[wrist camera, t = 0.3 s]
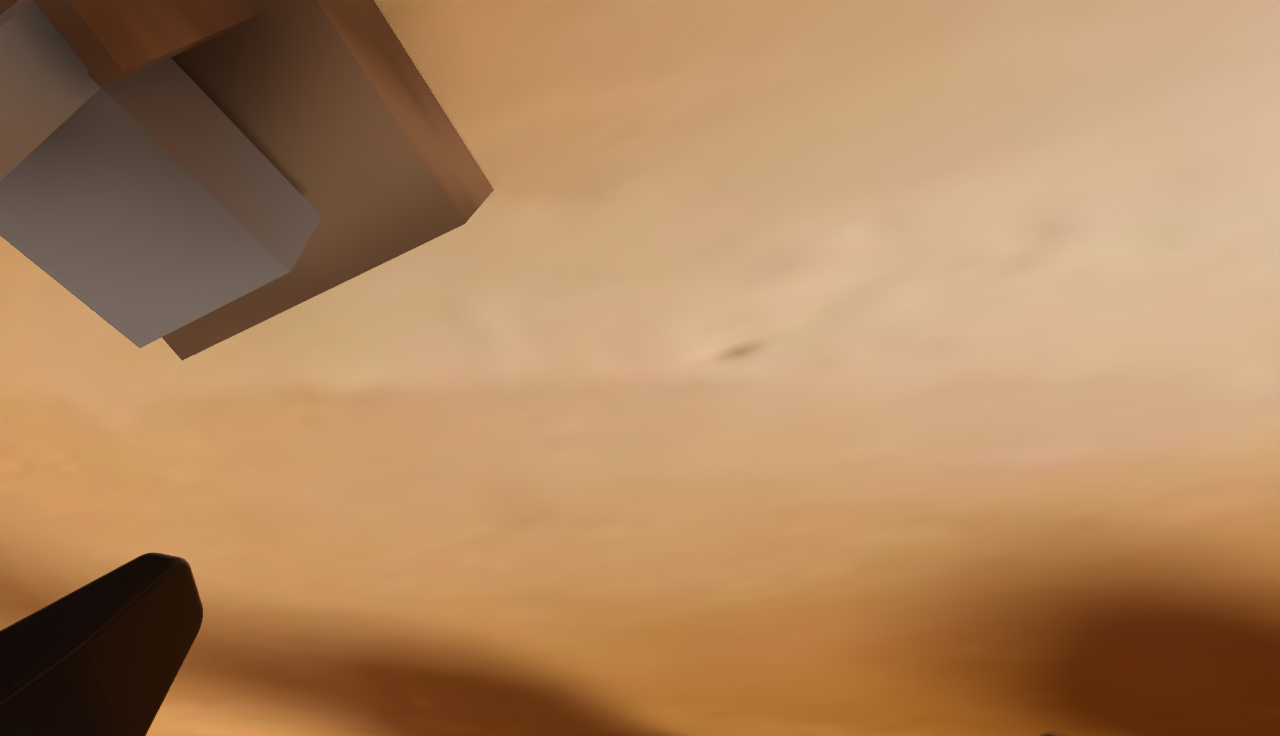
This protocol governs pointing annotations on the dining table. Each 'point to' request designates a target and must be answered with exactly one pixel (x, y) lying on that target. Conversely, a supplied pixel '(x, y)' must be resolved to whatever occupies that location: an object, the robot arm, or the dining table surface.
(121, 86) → the lever
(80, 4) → the base
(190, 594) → the robot arm
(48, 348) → the dining table surface
